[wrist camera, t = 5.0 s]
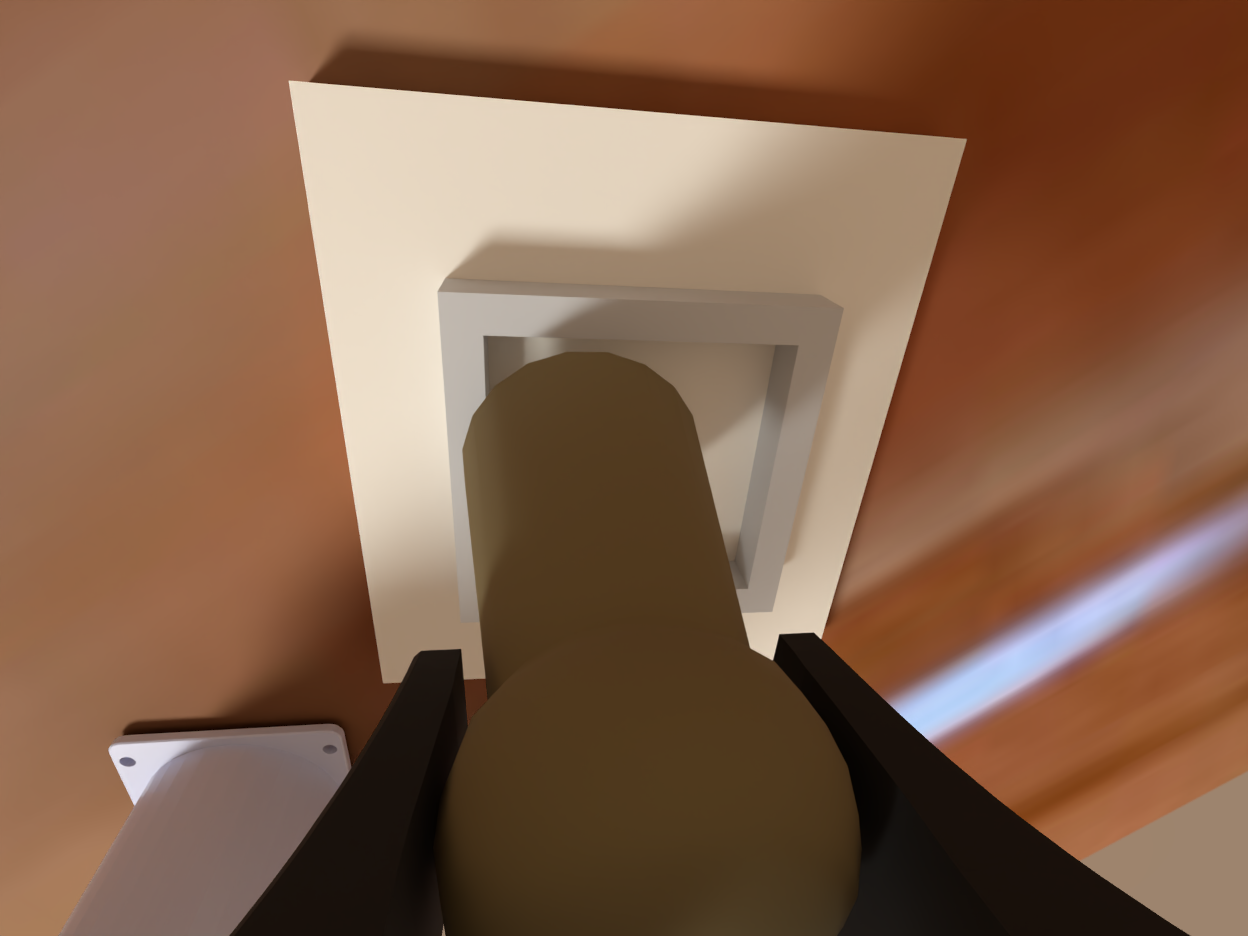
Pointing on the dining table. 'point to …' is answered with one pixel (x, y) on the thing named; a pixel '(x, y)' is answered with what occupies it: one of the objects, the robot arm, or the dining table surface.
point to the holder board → (612, 316)
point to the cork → (626, 690)
